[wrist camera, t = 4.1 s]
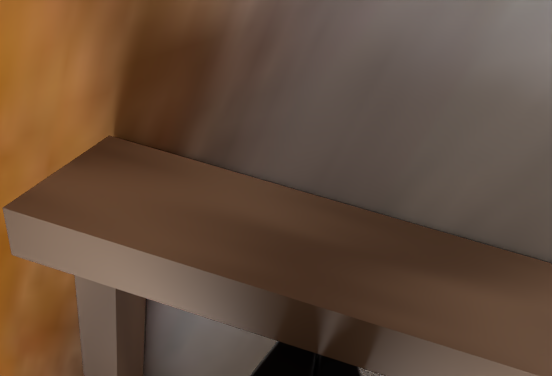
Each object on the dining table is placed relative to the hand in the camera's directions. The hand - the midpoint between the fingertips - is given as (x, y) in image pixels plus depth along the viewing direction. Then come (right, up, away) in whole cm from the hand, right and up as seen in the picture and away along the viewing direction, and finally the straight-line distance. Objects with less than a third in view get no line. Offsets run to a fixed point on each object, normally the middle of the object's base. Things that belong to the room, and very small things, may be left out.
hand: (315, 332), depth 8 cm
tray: (-1, -5, +5) cm, 7 cm away
